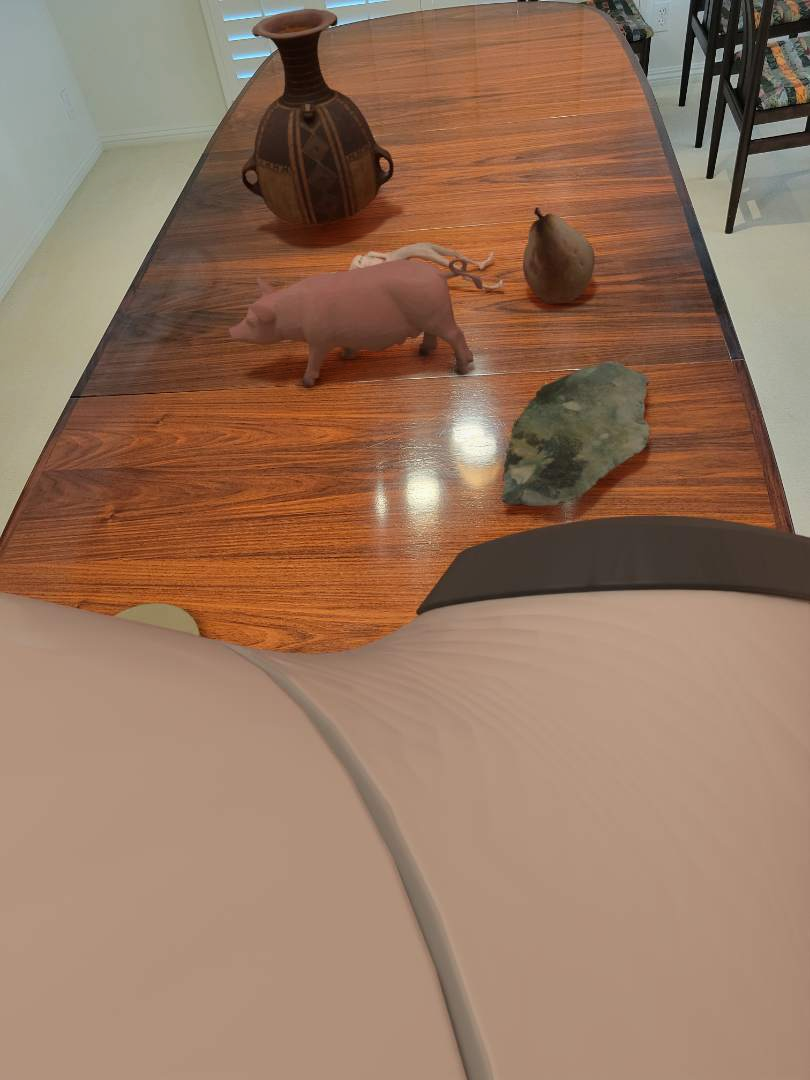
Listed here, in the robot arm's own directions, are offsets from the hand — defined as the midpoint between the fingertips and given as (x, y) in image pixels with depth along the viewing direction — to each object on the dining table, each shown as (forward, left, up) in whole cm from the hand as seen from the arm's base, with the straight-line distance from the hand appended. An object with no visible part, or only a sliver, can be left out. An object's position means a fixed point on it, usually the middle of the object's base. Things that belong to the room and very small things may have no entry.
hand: (471, 899), depth 43 cm
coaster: (+18, +41, -18) cm, 48 cm away
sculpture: (+66, +38, -19) cm, 78 cm away
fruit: (+88, +18, -19) cm, 91 cm away
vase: (+103, +60, -19) cm, 120 cm away
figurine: (+85, +39, -19) cm, 95 cm away
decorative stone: (+57, +8, -19) cm, 60 cm away
